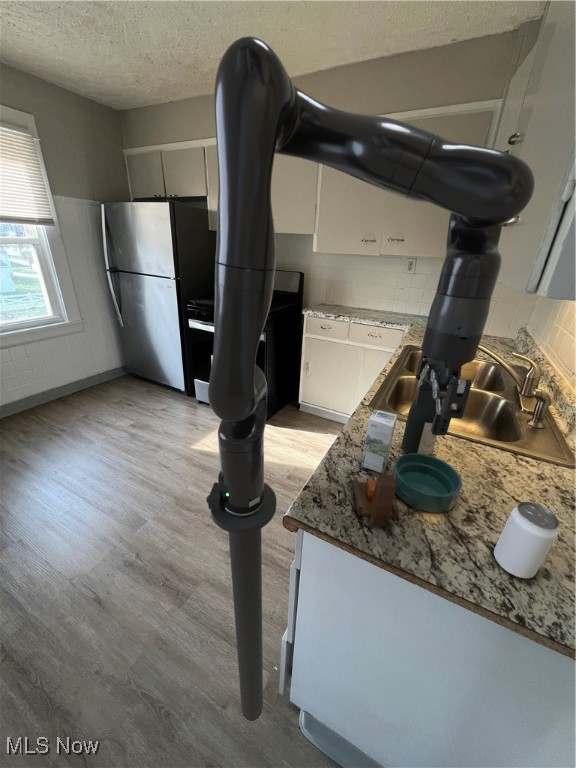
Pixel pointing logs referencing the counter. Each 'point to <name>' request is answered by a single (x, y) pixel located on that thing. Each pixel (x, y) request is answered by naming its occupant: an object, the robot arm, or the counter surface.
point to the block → (370, 489)
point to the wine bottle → (420, 429)
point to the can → (526, 539)
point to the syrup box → (378, 440)
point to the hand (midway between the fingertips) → (429, 419)
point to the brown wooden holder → (377, 500)
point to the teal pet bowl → (426, 482)
